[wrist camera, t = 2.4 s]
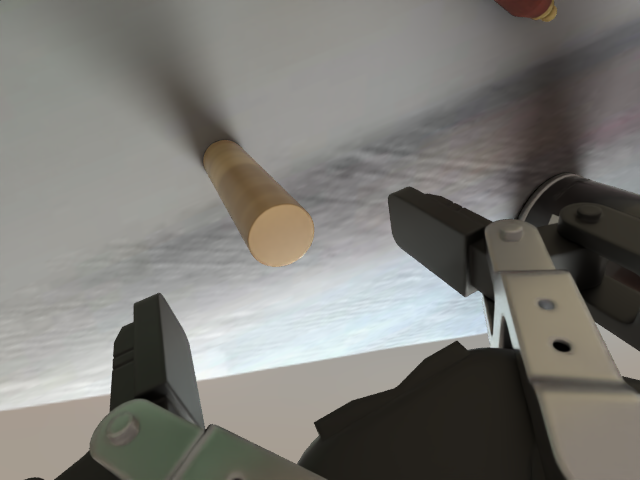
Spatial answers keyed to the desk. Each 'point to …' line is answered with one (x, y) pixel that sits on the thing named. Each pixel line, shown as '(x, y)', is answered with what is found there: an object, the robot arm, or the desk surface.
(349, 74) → the desk surface
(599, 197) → the robot arm
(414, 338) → the desk surface
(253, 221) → the stick
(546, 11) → the gavel
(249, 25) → the desk surface
